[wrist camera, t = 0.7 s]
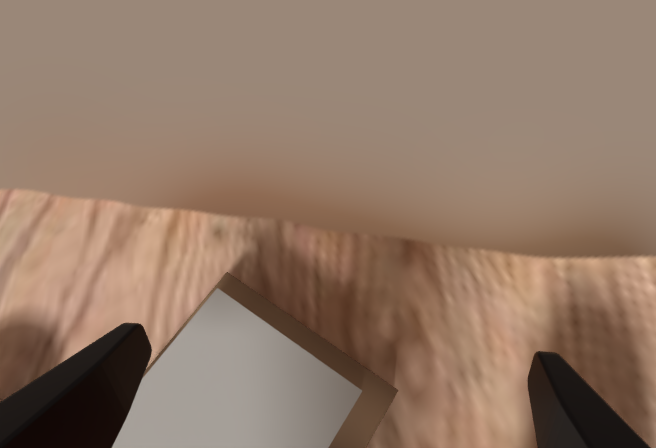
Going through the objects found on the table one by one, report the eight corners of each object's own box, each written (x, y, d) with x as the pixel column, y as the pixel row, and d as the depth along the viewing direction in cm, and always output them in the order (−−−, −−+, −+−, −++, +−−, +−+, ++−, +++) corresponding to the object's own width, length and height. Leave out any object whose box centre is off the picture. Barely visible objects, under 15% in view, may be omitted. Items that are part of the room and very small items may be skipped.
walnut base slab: (268, 609, 21) (259, 635, 18) (102, 454, 24) (73, 457, 21) (391, 395, 25) (398, 390, 23) (237, 287, 28) (227, 271, 26)
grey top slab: (253, 572, 19) (240, 594, 17) (116, 446, 22) (85, 448, 19) (359, 396, 23) (362, 390, 20) (229, 303, 25) (217, 287, 22)
